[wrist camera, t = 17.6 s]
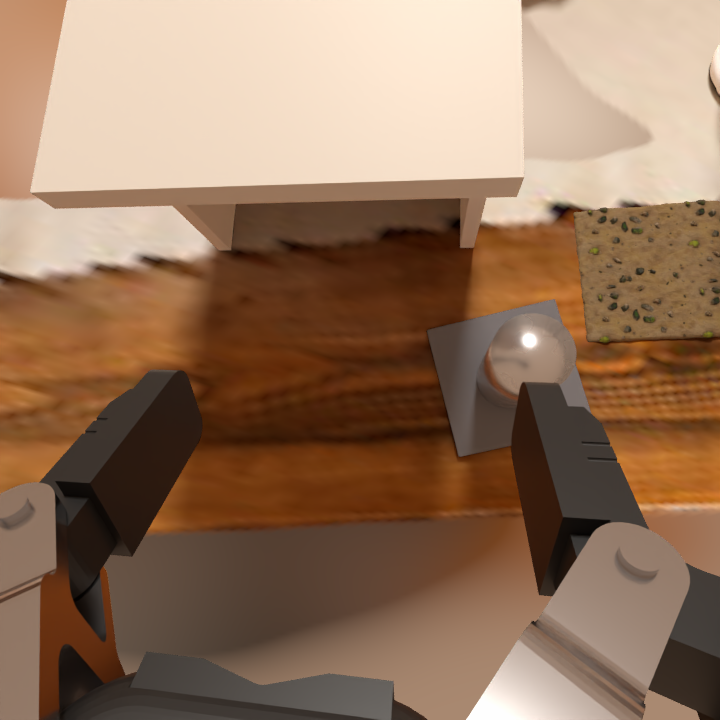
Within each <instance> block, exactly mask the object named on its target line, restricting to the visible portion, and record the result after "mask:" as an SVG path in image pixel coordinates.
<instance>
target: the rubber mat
mask: <svg viewBox="0 0 720 720" xmlns="http://www.w3.org/2000/svg"><path fill="white" fill-rule="evenodd" d="M528 313H537V314H543V315H546V316H549V317H552V318H553V319H555V320H557V321H558V322H560V323H561V324H562V321H561V318H560V314H559V311H558V308H557V305H556V302H555V299H553V300H549V301H545V302H541V303H536V304H532V305H528V306H524V307H520V308H516V309H512V310H507V311H503V312H499V313H495V314H491V315H487V316H483V317H479V318H474V319H470V320H466V321H462V322H458V323H454V324H450V325H445V326H441V327H437V328H433V329H429V330H427V334H428V338H429V342H430V346H431V350H432V354H433V358H434V362H435V366H436V370H437V374H438V378H439V382H440V385H441V389H442V393H443V397H444V401H445V405H446V409H447V413H448V417H449V421H450V425H451V429H452V433H453V437H454V441H455V445H456V448H457V452H458V456H459V457H461V456H466V455H470V454H475V453H480V452H484V451H489V450H494V449H498V448H503V447H508V446H511V438H512V429H513V424H514V418H515V413H516V408H502V407H499V406H496V405H494V404H492V403H491V402H489V401H488V400H487V399H486V398H485V397H484V396H483V395H482V393H481V392H480V390H479V387H478V384H477V371H478V368H479V365H480V363H481V361H482V359H483V358H484V356H485V354H486V352H487V350H488V348H489V346H490V344H491V342H492V340H493V338H494V337H495V335H496V333H497V331H498V330H499V328H500V327H501V326H502V325H503V324H504V323H505V322H507V321H508V320H510V319H511V318H513V317H516V316H518V315H522V314H528ZM562 325H563V324H562ZM560 387H561V389H562V392H563V394H564V397H565V400H566V402H567V405H568V406H577V407H585V408H586V409H587V410H588V411H589V412H590V413H591V411H590V408H589V405H588V402H587V399H586V396H585V392H584V389H583V386H582V383H581V380H580V377H579V374H578V371H577V367H576V364H575V366H574V368H573V370H572V372H571V374H570V376H569V377H568V378H567V379H566V380H565V381H564V382H563V383H562V384H560Z"/></svg>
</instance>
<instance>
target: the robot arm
mask: <svg viewBox="0 0 720 720" xmlns="http://www.w3.org/2000/svg"><path fill="white" fill-rule="evenodd" d="M85 431H86V433H85V434H82V435H81V436H80V437H79V438H78V439H77V441H76V442H75V443H74V444H73V445H72V446H71V447H70V448H69V450H68V451H67V452H66V453H65V454H64V455H63V456H62V457H61V459H60V460H59V461H58V462H57V463H56V464H55V465H54V466H53V468H52V469H51V470H50V471H49V472H48V473H47V474H46V475H45V477H44V478H43V479H42V480H41V481H40V482H39V483H37V482H35V483H27V484H23V485H19V486H16V487H14V488H11V489H9V490H7V491H5V492H3V493H1V494H0V720H427V719H426V718H425V717H424V716H422V715H420V714H419V713H417V712H416V711H414V710H412V709H411V708H410V707H408V706H406V705H403V704H402V703H399V702H397V701H395V700H394V684H393V681H387V680H379V679H370V678H362V677H353V676H345V675H336V674H324V675H319V676H313V677H308V678H302V679H297V680H291V681H286V682H279V683H274V684H268V685H258V684H255V683H253V682H251V681H249V680H247V679H245V678H242V677H240V676H238V675H236V674H234V673H232V672H230V671H228V670H226V669H224V668H222V667H220V666H218V665H216V664H214V663H212V662H210V661H208V660H206V659H202V658H194V657H186V656H178V655H169V654H161V653H152V652H146V654H145V656H144V658H143V660H142V662H141V664H140V667H139V669H138V671H137V672H134V673H131V674H128V675H125V672H124V670H123V667H122V665H121V663H120V660H119V657H118V653H117V649H116V642H115V634H114V625H113V618H112V609H111V601H110V592H109V584H108V577H107V572H106V570H105V568H104V564H105V562H106V561H107V559H108V557H109V556H110V555H121V556H131V557H132V556H133V554H134V553H135V551H136V549H137V547H138V546H139V544H140V542H141V541H142V539H143V537H144V535H145V534H146V532H147V530H148V528H149V527H150V525H151V523H152V522H153V520H154V518H155V516H156V515H157V513H158V511H159V510H160V508H161V506H162V504H163V503H164V501H165V499H166V497H167V496H168V494H169V492H170V491H171V489H172V487H173V485H174V484H175V482H176V480H177V478H178V477H179V475H180V473H181V472H182V470H183V468H184V466H185V465H186V463H187V461H188V459H189V458H190V456H191V454H192V453H193V451H194V449H195V447H196V446H197V444H198V442H199V440H200V437H201V433H202V418H201V414H200V411H199V408H198V405H197V402H196V399H195V396H194V393H193V390H192V387H191V384H190V381H189V378H188V376H187V374H186V373H185V372H184V371H180V370H150V371H149V372H148V373H147V374H146V375H145V376H144V377H143V378H142V379H141V381H140V382H139V383H138V384H137V385H136V386H135V388H134V389H130V390H128V391H127V392H125V393H124V394H122V395H121V396H119V397H118V398H116V399H115V400H113V401H112V402H110V403H109V404H108V406H107V407H106V408H105V409H104V410H103V411H102V412H101V413H100V415H99V416H98V417H97V421H93V422H92V424H91V425H90V426H89V427H88V428H87V429H86V430H85ZM511 451H512V460H513V465H514V470H515V475H516V480H517V486H518V491H519V496H520V501H521V506H522V511H523V516H524V521H525V526H526V531H527V536H528V542H529V546H530V551H531V556H532V562H533V567H534V572H535V577H536V582H537V587H538V592H539V595H544V596H553V597H552V598H551V600H550V602H549V603H548V605H547V606H546V608H545V610H544V611H543V613H542V614H541V616H540V617H539V618H538V620H537V621H536V622H534V621H532V622H531V623H530V624H529V625H528V627H527V628H526V629H525V630H524V632H523V634H522V635H521V636H520V638H519V639H518V641H517V642H516V644H515V645H514V647H513V648H512V650H511V652H510V653H509V655H508V656H507V658H506V659H505V661H504V663H503V664H502V666H501V667H500V669H499V670H498V672H497V674H496V675H495V676H494V678H493V680H492V681H491V683H490V685H489V686H488V687H487V689H486V690H485V692H484V694H483V695H482V697H481V698H480V700H479V701H478V703H477V705H476V706H475V707H474V709H473V711H472V712H471V714H470V715H469V717H468V718H467V720H642V718H643V715H644V711H645V704H644V699H645V696H646V693H647V691H648V689H649V690H651V691H654V692H656V693H658V694H660V695H662V696H665V697H667V698H669V699H671V700H674V701H676V702H678V703H680V704H682V705H685V706H687V707H689V708H691V709H694V710H696V711H697V713H698V716H699V719H700V720H720V577H718V576H716V575H713V574H710V573H707V572H704V571H702V570H699V569H697V568H695V567H693V566H691V565H689V564H687V563H685V562H684V560H683V558H682V557H681V555H680V554H679V553H678V552H677V550H676V549H675V548H674V547H673V546H672V545H671V544H670V543H669V542H667V541H666V540H665V539H664V538H662V537H661V536H659V535H658V534H656V533H654V532H653V531H651V530H649V528H648V526H647V524H646V522H645V520H644V518H643V515H642V513H641V511H640V509H639V507H638V504H637V502H636V500H635V498H634V495H633V493H632V491H631V489H630V486H629V484H628V482H627V480H626V477H625V475H624V473H623V471H622V469H621V466H620V464H619V463H617V457H616V455H615V453H614V451H613V448H612V447H610V442H609V440H608V437H607V435H606V433H605V431H604V428H603V426H602V424H601V423H600V422H599V421H598V420H597V419H596V418H595V417H594V416H593V415H592V414H591V413H590V412H589V411H588V410H587V409H586V408H585V407H577V406H568V405H567V402H566V400H565V397H564V394H563V392H562V389H561V387H560V385H559V384H558V383H547V382H522V384H521V386H520V390H519V396H518V401H517V407H516V413H515V418H514V424H513V429H512V438H511Z"/></svg>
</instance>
